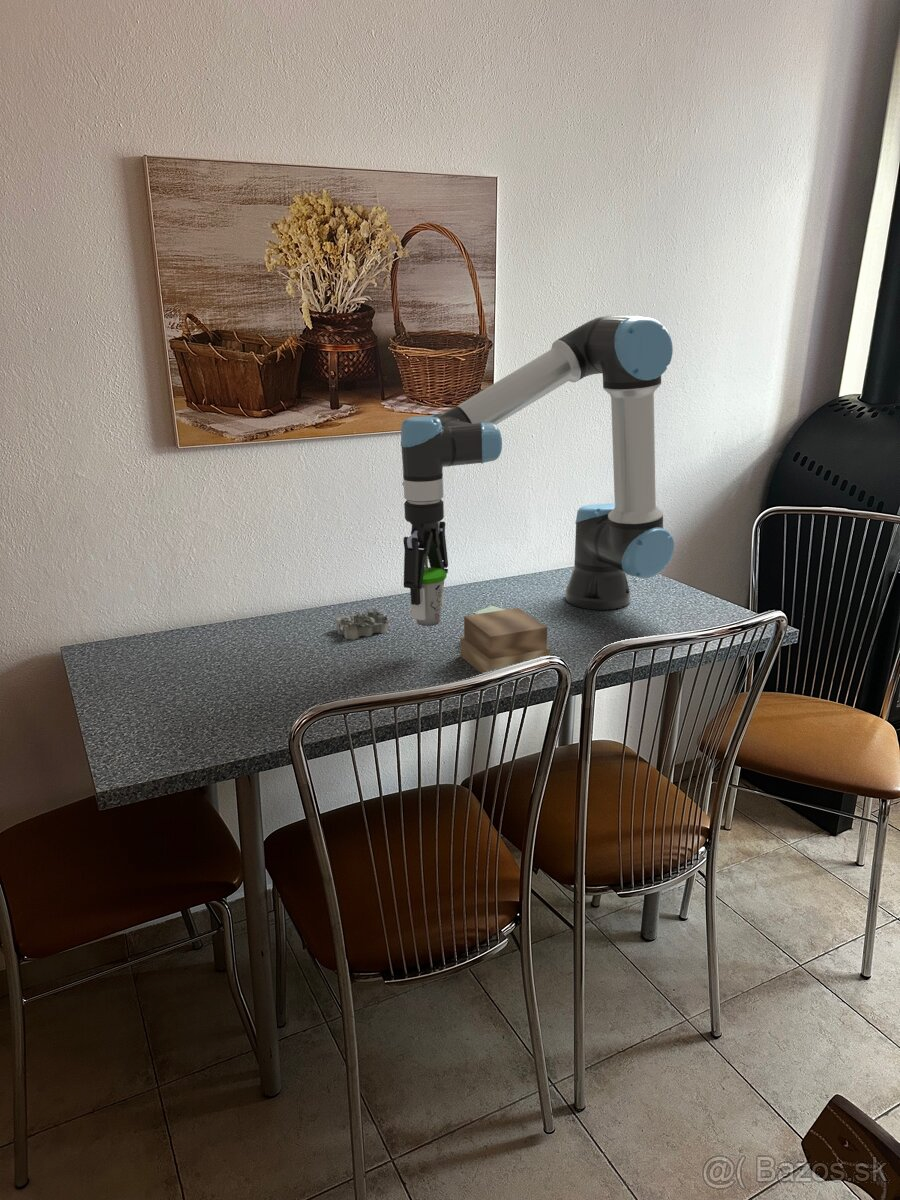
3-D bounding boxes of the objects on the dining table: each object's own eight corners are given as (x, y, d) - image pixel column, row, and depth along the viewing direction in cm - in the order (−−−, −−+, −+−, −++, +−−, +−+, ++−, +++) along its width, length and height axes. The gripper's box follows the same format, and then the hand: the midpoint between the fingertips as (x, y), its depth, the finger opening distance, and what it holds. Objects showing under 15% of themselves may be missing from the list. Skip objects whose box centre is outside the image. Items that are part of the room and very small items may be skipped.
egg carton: (347, 642, 181) (346, 624, 180) (333, 631, 187) (332, 614, 186) (392, 633, 186) (392, 615, 185) (377, 622, 192) (376, 605, 191)
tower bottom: (516, 647, 179) (517, 626, 177) (549, 670, 167) (550, 648, 166) (460, 657, 173) (460, 637, 172) (490, 682, 162) (490, 660, 161)
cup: (435, 631, 168) (432, 558, 163) (401, 625, 171) (397, 553, 166) (455, 618, 174) (453, 547, 169) (422, 612, 178) (419, 542, 173)
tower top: (517, 628, 176) (518, 607, 175) (546, 649, 166) (547, 627, 164) (464, 637, 172) (464, 616, 170) (490, 659, 161) (490, 636, 160)
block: (492, 631, 186) (492, 605, 184) (513, 639, 182) (513, 612, 180) (473, 639, 182) (473, 612, 180) (494, 646, 178) (494, 619, 176)
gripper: (429, 487, 174) (433, 593, 182) (380, 510, 157) (386, 627, 165) (463, 489, 171) (465, 597, 179) (416, 514, 154) (421, 632, 162)
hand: (428, 611), depth 172 cm, fingers closed on cup, 8 cm apart
